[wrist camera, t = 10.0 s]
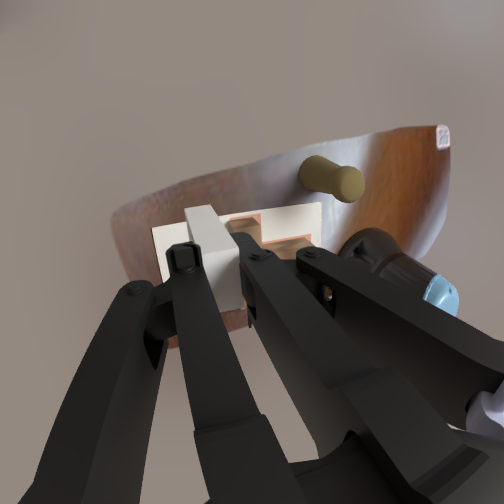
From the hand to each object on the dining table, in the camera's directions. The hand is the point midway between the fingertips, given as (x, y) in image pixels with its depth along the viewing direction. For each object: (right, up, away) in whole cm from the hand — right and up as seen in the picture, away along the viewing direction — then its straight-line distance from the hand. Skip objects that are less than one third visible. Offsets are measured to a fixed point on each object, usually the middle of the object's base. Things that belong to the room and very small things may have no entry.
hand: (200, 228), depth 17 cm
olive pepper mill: (+13, +12, +30) cm, 35 cm away
